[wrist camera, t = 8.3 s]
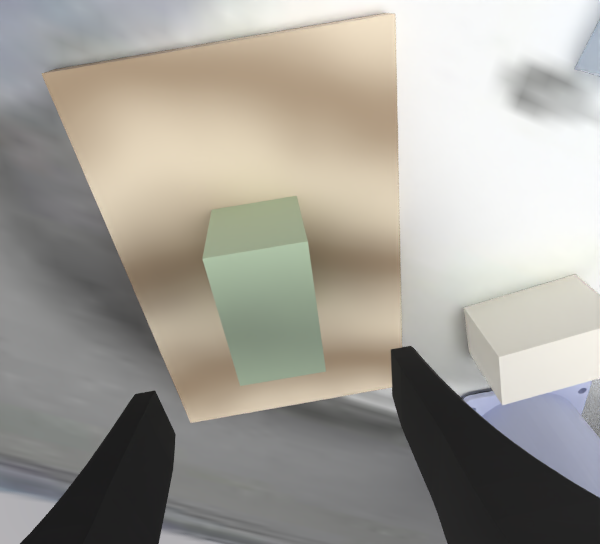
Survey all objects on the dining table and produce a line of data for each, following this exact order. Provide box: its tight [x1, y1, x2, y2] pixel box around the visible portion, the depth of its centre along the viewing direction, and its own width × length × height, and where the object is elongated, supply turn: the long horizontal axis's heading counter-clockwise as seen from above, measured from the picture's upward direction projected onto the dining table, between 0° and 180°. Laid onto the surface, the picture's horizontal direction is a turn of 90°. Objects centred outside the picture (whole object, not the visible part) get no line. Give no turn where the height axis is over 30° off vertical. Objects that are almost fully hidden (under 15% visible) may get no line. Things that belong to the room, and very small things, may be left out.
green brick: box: [202, 196, 326, 386], centre depth 17 cm, size 6×4×4 cm, turn 8°
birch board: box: [42, 13, 402, 423], centre depth 20 cm, size 18×12×1 cm, turn 8°
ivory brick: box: [464, 274, 600, 405], centre depth 22 cm, size 6×4×4 cm, turn 107°
